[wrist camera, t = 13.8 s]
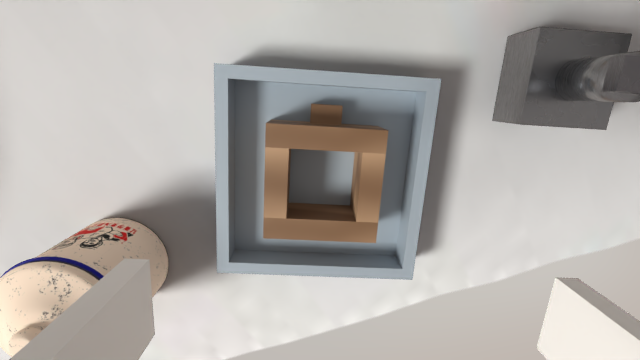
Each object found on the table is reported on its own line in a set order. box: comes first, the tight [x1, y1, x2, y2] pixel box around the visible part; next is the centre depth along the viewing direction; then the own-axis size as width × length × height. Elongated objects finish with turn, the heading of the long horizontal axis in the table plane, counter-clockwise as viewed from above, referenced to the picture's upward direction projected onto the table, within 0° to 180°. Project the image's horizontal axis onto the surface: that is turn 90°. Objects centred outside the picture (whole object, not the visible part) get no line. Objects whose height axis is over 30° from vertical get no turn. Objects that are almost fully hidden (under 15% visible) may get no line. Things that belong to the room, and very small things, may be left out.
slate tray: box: [214, 63, 441, 280], centre depth 28 cm, size 17×17×4 cm
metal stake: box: [492, 27, 640, 130], centre depth 24 cm, size 7×7×10 cm
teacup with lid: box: [0, 218, 168, 357], centre depth 26 cm, size 12×9×12 cm
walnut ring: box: [263, 104, 389, 243], centre depth 27 cm, size 10×9×4 cm
